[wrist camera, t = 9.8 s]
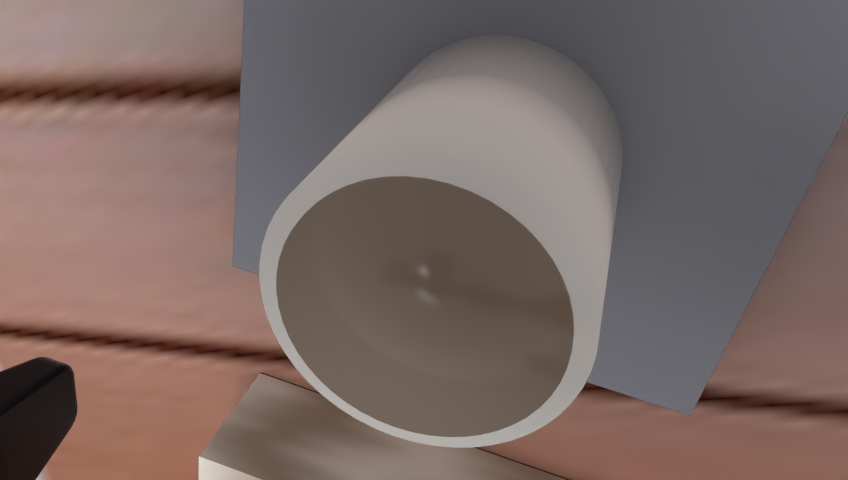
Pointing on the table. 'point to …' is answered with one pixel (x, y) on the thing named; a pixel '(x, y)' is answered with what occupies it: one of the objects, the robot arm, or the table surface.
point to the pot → (454, 248)
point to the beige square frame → (332, 445)
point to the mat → (640, 132)
